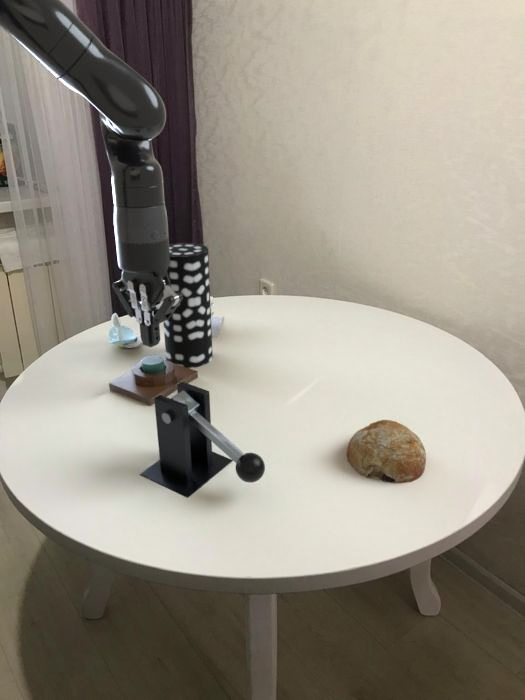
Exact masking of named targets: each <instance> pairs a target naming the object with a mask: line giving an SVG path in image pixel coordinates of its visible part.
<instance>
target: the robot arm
mask: <svg viewBox="0 0 525 700" xmlns="http://www.w3.org/2000/svg"><path fill="white" fill-rule="evenodd" d="M0 28H1V29H2V30H3V31H5V32H6V33H7V34H8V35H9V36H10V37H11V38H13V40H15V41H16V42H17V43H18V44H19V45H20V46H21V47H22V48H23V49H25V50H26V52H28V54H30V55H31V56H32V57H33V58H34V59H35V60H36V61H37V62H38V63H39V64H41V65H42V67H44V68H45V69H46V70H47V71H48V72H49V73H50V74H51V75H52V76H53V77H55V78H56V79H57V80H58V81H59V82H60V83H61V84H63V85H64V86H65V87H66V88H68V89H69V90H71V91H72V92H74V93H76V94H79V95H80V96H82V97H83V98H84V99H86V100H87V101H88V102H89V103H90V104H91V105H92V106H93V107H95V108H96V110H98V112H99V123H100V130H101V135H102V138H103V144H104V147H105V152H106V155H107V159H108V163H109V166H110V171H111V172H110V173H111V187H112V188H111V189H112V200H113V226H114V227H113V228H114V237H115V246H116V257H117V265H118V268H119V269H120V270H122V271H121V278H120V279H119V280H118V281H115V282H112V284H111V287H112V290H113V291H114V293H115V294H116V296H117V298H118V300H119V301H120V303H121V305H122V307H123V308H124V310H125V312H126V313H127V315H128V316H129V317H130V318H133V317H134V319H136V322H137V323H138V324H139V333H140V337H141V340H142V342H141V344H142V345H143V346H144V347H147V348H153V347H155V346H157V345H159V344H160V342H161V328H160V327H161V326H160V324H162V323H163V322H164V321H166V320H168V319H169V318H170V317H171V315H172V314H173V313H174V311H175V310H176V308H177V307H178V305H179V304H180V302H181V301H182V299H183V295H182V294H181V293H180V292H179V293H175V292H174V291H173V290H172V289H171V287H170V279H169V277H168V275H167V269H168V267H169V265H170V251H169V244H170V238H169V237H170V236H169V222H168V215H167V210H166V209H167V208H166V201H165V189H164V188H165V187H164V176H163V175H164V173H163V170H162V166H161V165H160V163H159V161H158V160H157V159H156V158H155V155H154V150H153V143H152V140H153V139H155V138H156V137H157V136H159V135H160V134H161V133H162V131H163V129H164V127H165V126H166V121H167V111H166V105H165V102H164V101H163V99H162V97H161V95H160V94H159V93H158V91H157V90H156V89H155V87H154V86H152V85H151V83H150V82H149V81H147V79H146V78H144V77H143V76H142V75H141V74H140V73H138V72H137V71H136V70H135V69H134V68H132V67H131V66H130V65H129V64H128V63H126V62H125V61H124V60H123V59H121V58H120V57H118V56H117V55H116V54H115V53H113V52H112V51H111V50H110V49H108V48H107V46H106V45H105V44H103V43H102V41H101V40H100V39H99V38H98V37H97V36H96V34H95V33H94V32H93V31H92V30H91V29H90V28H89V27H88V26H87V25H86V24H85V23H84V22H83V21H82V20H81V19H80V17H78V15H76V14H75V13H74V12H73V10H71V9H70V8H69V7H68V6H67V5H66V4H65V3H64V2H63V1H62V0H0Z"/></svg>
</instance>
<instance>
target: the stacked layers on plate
mask: <svg viewBox="0 0 525 700" xmlns="http://www.w3.org/2000/svg"><path fill="white" fill-rule="evenodd" d="M213 299H214V296H211V295H210V304H211V329H212V338H217V337H218V335H219V332H220V328H221V325H222V323H223V321H224V317H220V316H219V317H218V316H214V315H215V312H214V311H213V307H214V302H212V300H213Z"/></svg>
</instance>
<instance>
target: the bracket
mask: <svg viewBox="0 0 525 700" xmlns="http://www.w3.org/2000/svg"><path fill="white" fill-rule="evenodd" d="M183 390H184V391H185V392H186V393H187V394H188V395H190V396H191V397H192V398H193V399H194V400H195V401H196V402H197V403H199V404H200V405H199V407H198V409H197V412H198V413H199V414H200V415H201V416H202V417H203V418H204V419H206V420H207V421H208V422H209V423H210V424H211V425H212V419H211V417H212V416H211V398H210V396H211V395H210V391H209V390H208V389H204V388H201V387H199V386H196V385H194V384H191V383H185V382H180V383H179V384H177V391H176V392H177V394H178V393H180V392H181V391H183ZM154 402H155V404H154V411H155V422H156V432H157V433H156V434H157V442H158V443H157V444H158V455H159V456H158V457H159V460H157V461H156V462H154V463H153V464H151V465H150V466H149V467H147V468H146V469H145V470H143V471H142V472H141V473H139V476H141V477H143V478H145V479H147V480H149V481H151V482H153V483H156V484H157V485H160V486H162V487H164V488H166V489H168V490H170V491H172V492H174V493H176V494H178V495H180V496H182V497H184V498H187V499H189V498H190V497H191V496H192V495H193V494H195V493H196V492H197V491H198V490H200V489H201V488H202V487H203V486H204V485H206V484H207V483H208V482H209V481H210V480H212V479H213V478H214V477H215V476H217V475H218V474H219V473H220V472H221V471H223V470H224V469H226V467H227V466H229V465H230V464H231V463H232V462H234V461H233V460H232V459H231V458H230V457H228V456H224V455H221V454H220V453H217V452H214V451H213V442H212V441H211V440H210V439H209V438H208V437H206V436H205V435H204V434H203V433H202V432H201V431H200V430H199V429H198V428H196V427H195V426H194V425H193V424H192V423H191V422H190V421H189V418H188V405H186V404H183V403H181V402H178V401H175V400H173V399H171V398H170V397H168V396H167V397H165V396H162V395H158V396H157V397H155V398H154Z"/></svg>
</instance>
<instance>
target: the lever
mask: <svg viewBox="0 0 525 700" xmlns="http://www.w3.org/2000/svg"><path fill="white" fill-rule="evenodd" d="M170 399H173V400H175V401H178V402H181V403H183V404H186V405H188V418H189V421H190V422H191V423H192V424H193V425H194V426H195V427H196V428H198V429H199V430H200V431H201V432H202V433H203V434H204V435H205V436H206V437H208V438H209V439H210V440H211V441H212V444H213V445H215V446H216V447H217V448H218V449H220V450H221V452H223V453H224V454H225V455H226V456H227V457H228V458H229V459H231V460H233V461H232V462H234V463H235V473H236V475H237V477H238V478H239V479H240V480H241V481H242V482H245V483H251V484H252V483H255V482H258V481H260V479H262V478H263V476H264V474H265V471H266V465H265V462H264V459H263V458H262V457H261V456H260V455H259V454H257V453H255V452H246V453H244V452H243V451H242V450H240V448H238V446H236V445H235V443H233V442H232V441H231V440H229V439H228V438H227V437H226V436H225V435H224V434H222V432H220V430H218V429H217V428H216V427H215V426H213V424H212V423H211V424H210V423H209V422H208V421H207V420H206V419H204V418H203V417H202V416H201V415H200V414H199V413H198V412H197V409H198V407H199V405H200V404H199V403H197V402H196V401H195V400H194V399H193V398H192V397H191V396H190V395H188V394H187V393H186V392H185V391H184V390H183V391H181V392H180V393H178V392H177V393H176V394H175V395H173V396H171V398H170Z"/></svg>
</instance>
